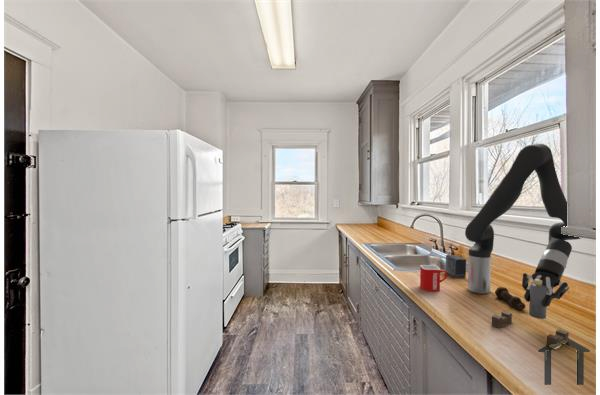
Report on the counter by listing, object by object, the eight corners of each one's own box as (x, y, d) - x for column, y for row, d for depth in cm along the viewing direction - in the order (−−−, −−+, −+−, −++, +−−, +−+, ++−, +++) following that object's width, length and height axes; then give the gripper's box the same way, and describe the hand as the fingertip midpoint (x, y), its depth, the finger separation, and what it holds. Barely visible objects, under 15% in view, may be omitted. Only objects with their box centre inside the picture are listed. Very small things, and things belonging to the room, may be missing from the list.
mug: (423, 291, 150) (424, 269, 150) (418, 285, 158) (419, 264, 158) (449, 291, 149) (449, 270, 148) (443, 286, 157) (443, 265, 157)
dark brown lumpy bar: (519, 315, 127) (498, 300, 142) (531, 310, 126) (509, 295, 141) (512, 303, 127) (492, 289, 142) (524, 297, 126) (503, 284, 141)
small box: (466, 278, 170) (467, 259, 170) (455, 278, 170) (455, 259, 169) (455, 272, 181) (456, 254, 180) (444, 272, 180) (445, 254, 180)
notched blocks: (504, 319, 119) (504, 310, 119) (568, 342, 102) (568, 332, 102) (491, 325, 114) (491, 316, 114) (555, 350, 97) (556, 339, 97)
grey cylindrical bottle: (532, 312, 114) (534, 277, 114) (548, 316, 110) (549, 280, 109) (526, 314, 112) (527, 279, 111) (542, 320, 108) (543, 283, 107)
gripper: (526, 254, 120) (509, 291, 114) (573, 262, 108) (557, 304, 102) (532, 266, 123) (516, 302, 117) (579, 275, 111) (563, 316, 105)
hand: (535, 302), depth 110 cm, fingers closed on grey cylindrical bottle, 4 cm apart
